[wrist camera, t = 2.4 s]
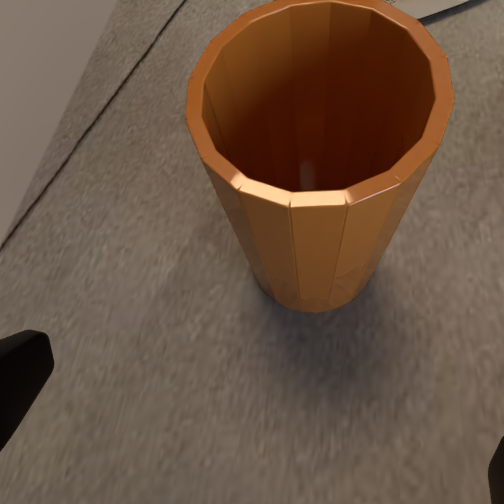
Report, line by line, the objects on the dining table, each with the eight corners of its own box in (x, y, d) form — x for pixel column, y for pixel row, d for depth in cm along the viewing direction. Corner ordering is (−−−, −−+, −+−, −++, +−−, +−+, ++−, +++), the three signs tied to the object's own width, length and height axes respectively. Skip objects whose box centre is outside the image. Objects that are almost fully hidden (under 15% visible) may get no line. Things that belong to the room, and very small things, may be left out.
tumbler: (314, 340, 21) (320, 265, 9) (227, 255, 23) (136, 102, 11) (400, 250, 22) (512, 72, 10) (309, 177, 24) (308, -43, 12)
